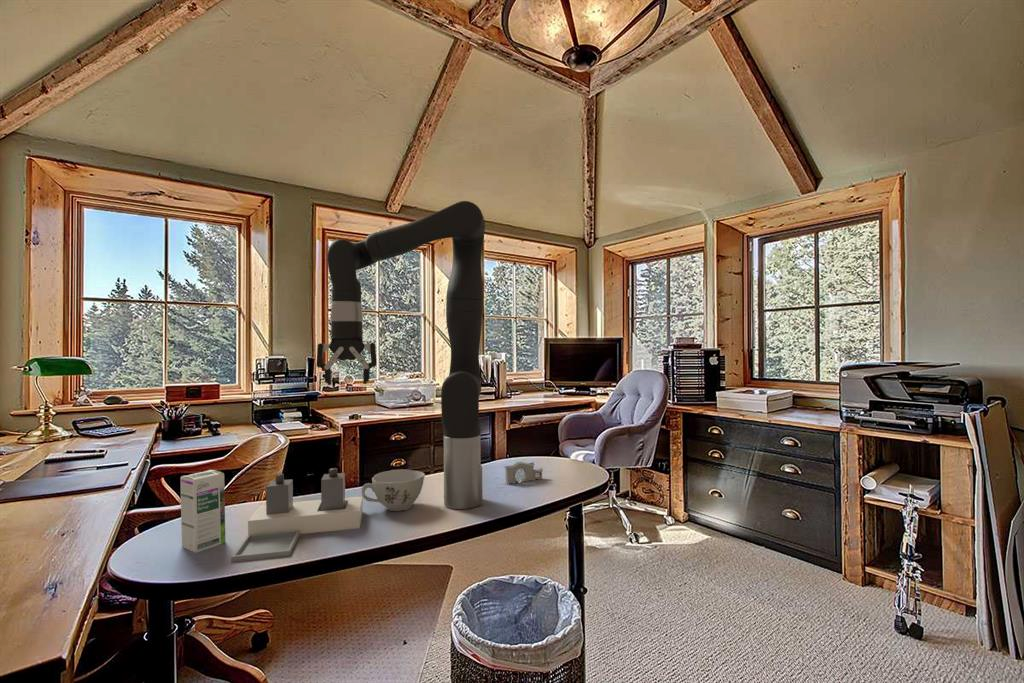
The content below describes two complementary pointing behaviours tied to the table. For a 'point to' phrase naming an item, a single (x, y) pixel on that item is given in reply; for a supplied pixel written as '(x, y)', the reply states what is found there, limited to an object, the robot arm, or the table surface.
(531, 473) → the garden wall model
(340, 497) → the plug
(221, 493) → the syrup box
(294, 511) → the power strip
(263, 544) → the tray
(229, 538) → the table surface
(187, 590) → the table surface
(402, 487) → the teacup
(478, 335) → the robot arm
